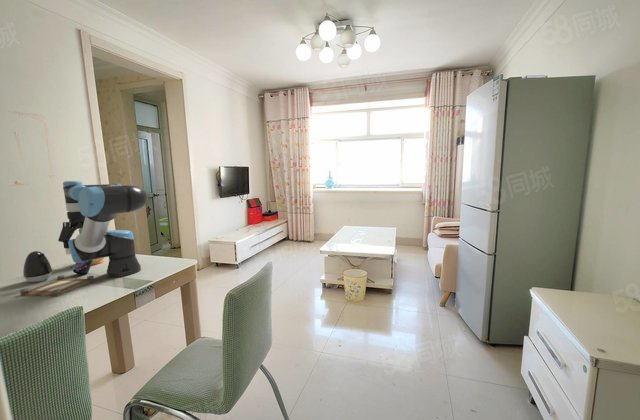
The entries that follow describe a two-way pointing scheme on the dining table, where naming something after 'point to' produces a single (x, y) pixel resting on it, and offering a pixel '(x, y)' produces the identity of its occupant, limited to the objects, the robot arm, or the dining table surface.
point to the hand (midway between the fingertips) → (81, 250)
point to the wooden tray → (57, 286)
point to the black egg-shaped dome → (36, 267)
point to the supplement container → (82, 267)
